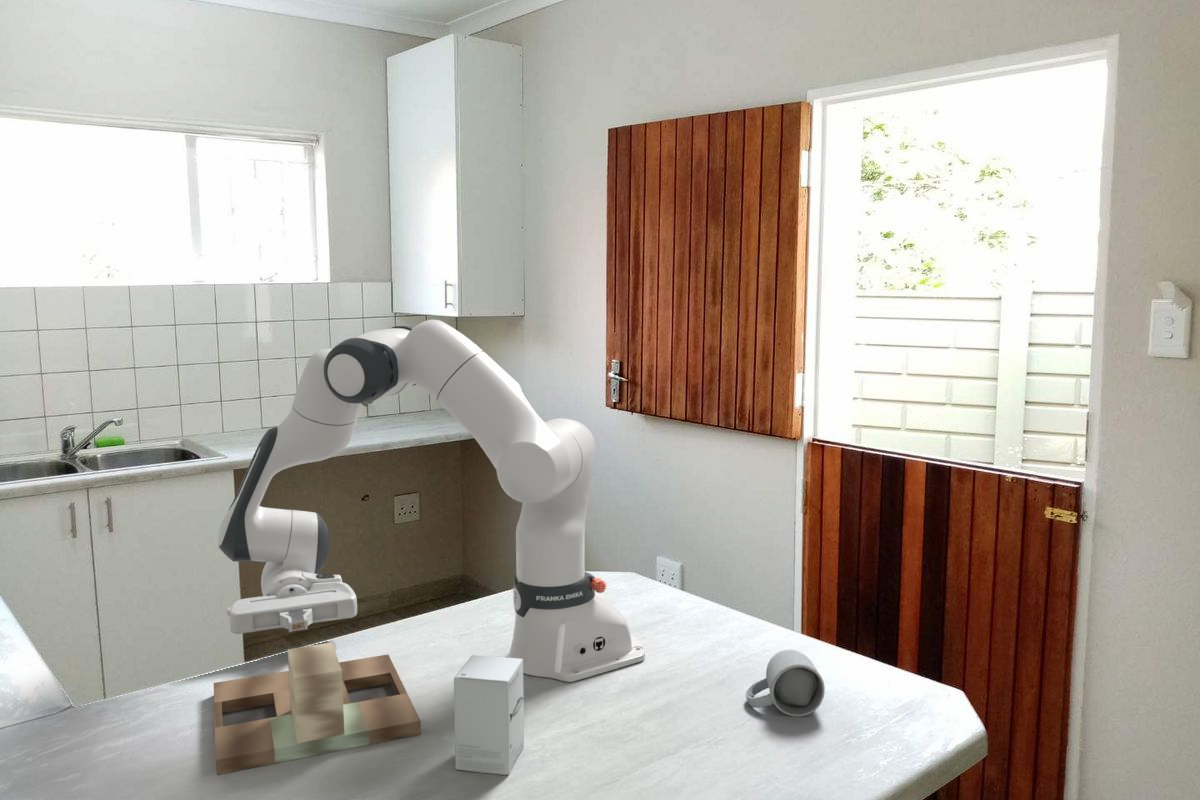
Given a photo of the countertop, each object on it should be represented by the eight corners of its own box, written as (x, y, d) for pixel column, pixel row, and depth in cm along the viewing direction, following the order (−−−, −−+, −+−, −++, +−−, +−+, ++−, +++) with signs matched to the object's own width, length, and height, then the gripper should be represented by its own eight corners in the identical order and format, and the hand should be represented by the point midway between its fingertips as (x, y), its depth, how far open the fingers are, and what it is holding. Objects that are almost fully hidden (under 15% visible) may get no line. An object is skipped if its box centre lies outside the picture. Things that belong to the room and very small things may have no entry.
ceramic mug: (811, 691, 140) (812, 642, 139) (825, 717, 132) (825, 665, 130) (741, 692, 140) (741, 644, 139) (750, 718, 132) (750, 667, 131)
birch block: (334, 702, 132) (332, 642, 131) (344, 734, 123) (341, 670, 122) (290, 710, 130) (287, 649, 129) (297, 743, 121) (293, 678, 119)
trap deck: (388, 666, 149) (388, 654, 149) (421, 734, 127) (420, 720, 127) (214, 695, 139) (213, 682, 138) (216, 774, 117) (215, 760, 117)
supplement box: (509, 776, 116) (508, 681, 115) (453, 770, 118) (451, 676, 116) (526, 747, 123) (524, 657, 122) (473, 741, 125) (471, 653, 123)
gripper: (225, 588, 157) (227, 616, 144) (349, 573, 164) (361, 598, 152) (227, 624, 157) (230, 655, 145) (350, 607, 165) (362, 635, 153)
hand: (298, 626), depth 148 cm, fingers closed
